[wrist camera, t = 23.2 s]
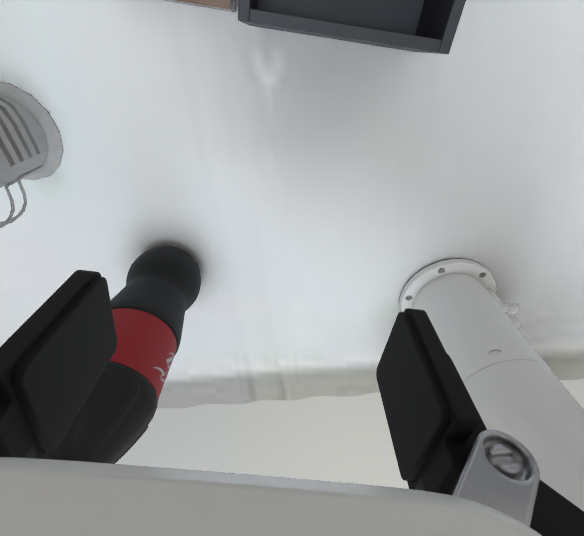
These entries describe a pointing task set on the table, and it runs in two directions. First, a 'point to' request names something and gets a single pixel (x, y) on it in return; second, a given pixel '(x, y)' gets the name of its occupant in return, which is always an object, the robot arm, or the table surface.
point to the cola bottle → (135, 357)
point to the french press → (25, 142)
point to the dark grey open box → (362, 20)
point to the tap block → (211, 4)
